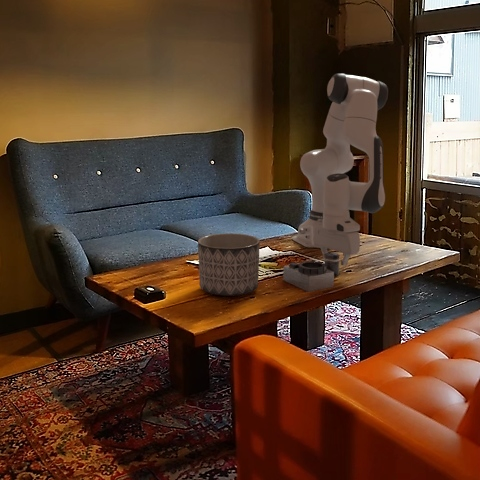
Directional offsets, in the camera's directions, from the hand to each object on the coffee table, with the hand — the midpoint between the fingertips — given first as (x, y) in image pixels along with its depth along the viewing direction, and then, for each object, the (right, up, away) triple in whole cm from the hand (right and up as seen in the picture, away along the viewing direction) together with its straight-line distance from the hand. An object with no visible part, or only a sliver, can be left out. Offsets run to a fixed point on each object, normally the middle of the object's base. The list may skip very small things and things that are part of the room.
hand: (334, 262), depth 213 cm
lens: (-1, -4, +2) cm, 5 cm away
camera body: (-10, -7, -8) cm, 15 cm away
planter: (-36, -9, -15) cm, 40 cm away
